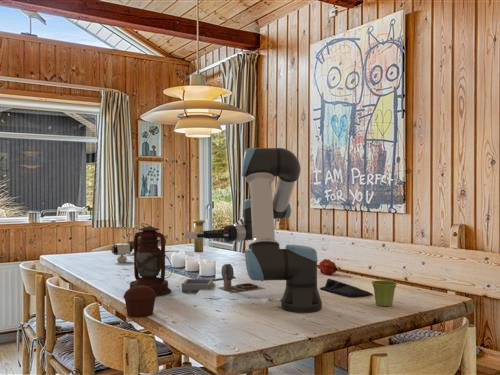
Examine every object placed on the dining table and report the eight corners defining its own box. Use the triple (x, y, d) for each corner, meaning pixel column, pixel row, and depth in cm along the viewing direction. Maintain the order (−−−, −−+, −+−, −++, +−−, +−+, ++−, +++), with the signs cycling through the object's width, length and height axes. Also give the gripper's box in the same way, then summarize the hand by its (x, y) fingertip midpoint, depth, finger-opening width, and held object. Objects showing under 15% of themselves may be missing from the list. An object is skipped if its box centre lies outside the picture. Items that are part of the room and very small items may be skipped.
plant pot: (377, 301, 195) (377, 279, 195) (400, 304, 189) (400, 282, 189) (367, 305, 187) (367, 282, 187) (390, 309, 181) (390, 285, 181)
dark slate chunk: (345, 300, 198) (345, 288, 198) (317, 289, 219) (317, 279, 219) (376, 296, 204) (376, 285, 204) (346, 286, 225) (346, 276, 225)
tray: (209, 292, 210) (209, 284, 210) (181, 292, 211) (181, 284, 211) (212, 286, 222) (212, 279, 222) (186, 286, 223) (186, 278, 223)
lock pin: (203, 252, 214) (203, 220, 214) (191, 252, 214) (192, 220, 214) (205, 251, 219) (205, 220, 219) (193, 251, 220) (194, 219, 220)
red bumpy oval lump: (320, 275, 261) (335, 282, 251) (311, 267, 256) (326, 273, 246) (328, 261, 263) (344, 268, 252) (320, 253, 258) (335, 259, 248)
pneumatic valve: (111, 262, 295) (111, 242, 295) (129, 260, 302) (129, 241, 302) (114, 263, 291) (114, 243, 291) (133, 261, 297) (133, 242, 297)
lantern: (180, 290, 214) (180, 222, 214) (150, 299, 198) (150, 225, 198) (147, 286, 223) (147, 220, 224) (116, 294, 207) (116, 223, 207)
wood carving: (171, 250, 349) (171, 235, 349) (126, 255, 326) (126, 238, 326) (164, 249, 356) (164, 234, 356) (120, 253, 333) (120, 237, 333)
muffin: (159, 310, 180) (159, 283, 180) (154, 318, 169) (154, 289, 169) (126, 310, 180) (126, 283, 180) (119, 318, 169) (119, 289, 169)
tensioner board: (265, 292, 211) (265, 263, 211) (231, 296, 202) (231, 266, 202) (249, 286, 222) (249, 259, 222) (216, 291, 213) (216, 262, 213)
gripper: (243, 242, 219) (195, 246, 207) (224, 239, 234) (179, 242, 221) (243, 226, 219) (195, 228, 207) (224, 223, 234) (179, 225, 221)
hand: (187, 235), depth 214 cm, fingers closed on lock pin, 4 cm apart
